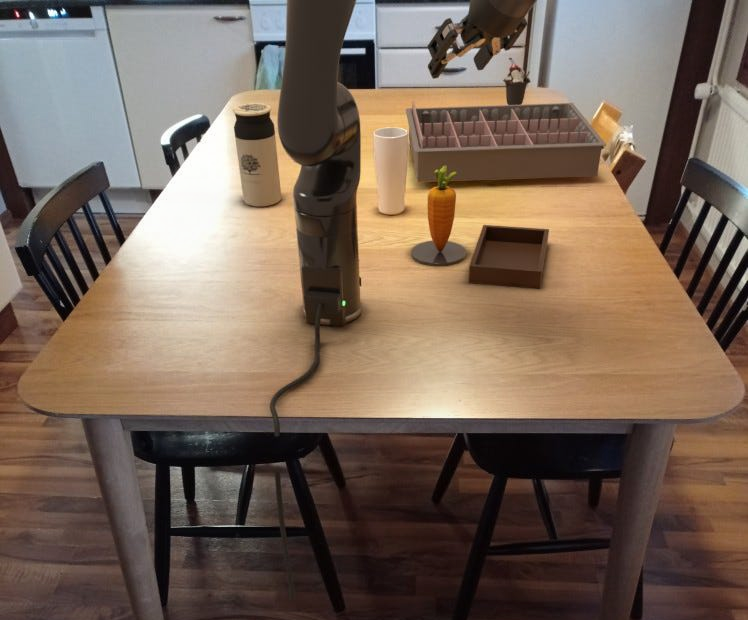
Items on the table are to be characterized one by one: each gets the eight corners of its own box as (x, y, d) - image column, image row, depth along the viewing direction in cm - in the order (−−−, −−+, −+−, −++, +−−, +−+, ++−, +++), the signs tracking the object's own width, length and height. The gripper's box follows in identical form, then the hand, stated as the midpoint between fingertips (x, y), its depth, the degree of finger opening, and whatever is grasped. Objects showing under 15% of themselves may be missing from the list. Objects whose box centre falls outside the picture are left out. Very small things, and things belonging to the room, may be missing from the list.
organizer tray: (600, 183, 166) (608, 134, 159) (414, 190, 166) (414, 141, 159) (568, 138, 190) (574, 93, 184) (405, 143, 190) (405, 99, 183)
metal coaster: (461, 268, 137) (461, 265, 136) (406, 263, 139) (406, 261, 138) (469, 245, 144) (469, 242, 144) (416, 241, 146) (416, 238, 146)
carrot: (436, 244, 143) (439, 159, 134) (459, 250, 141) (463, 165, 131) (420, 253, 141) (422, 167, 131) (443, 260, 138) (446, 173, 128)
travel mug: (261, 191, 168) (250, 100, 156) (289, 198, 164) (280, 105, 152) (235, 202, 163) (223, 110, 151) (264, 210, 159) (253, 115, 148)
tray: (539, 288, 130) (541, 271, 128) (468, 282, 132) (469, 265, 130) (547, 245, 143) (549, 229, 141) (482, 240, 145) (483, 224, 143)
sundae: (494, 121, 202) (499, 56, 192) (516, 118, 204) (522, 53, 194) (508, 128, 197) (514, 62, 188) (530, 124, 200) (537, 58, 190)
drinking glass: (404, 217, 155) (405, 138, 145) (371, 216, 156) (369, 136, 146) (410, 205, 159) (411, 127, 150) (378, 203, 161) (376, 126, 151)
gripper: (477, 22, 102) (426, 99, 117) (560, 9, 107) (501, 84, 122) (455, -31, 101) (407, 53, 116) (539, -42, 107) (482, 40, 122)
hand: (455, 68), depth 119 cm, fingers open, 8 cm apart
